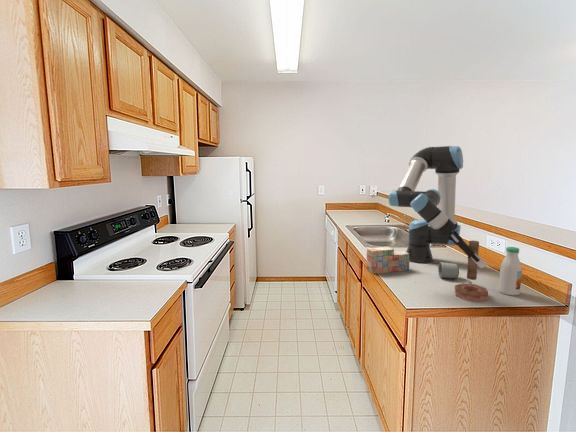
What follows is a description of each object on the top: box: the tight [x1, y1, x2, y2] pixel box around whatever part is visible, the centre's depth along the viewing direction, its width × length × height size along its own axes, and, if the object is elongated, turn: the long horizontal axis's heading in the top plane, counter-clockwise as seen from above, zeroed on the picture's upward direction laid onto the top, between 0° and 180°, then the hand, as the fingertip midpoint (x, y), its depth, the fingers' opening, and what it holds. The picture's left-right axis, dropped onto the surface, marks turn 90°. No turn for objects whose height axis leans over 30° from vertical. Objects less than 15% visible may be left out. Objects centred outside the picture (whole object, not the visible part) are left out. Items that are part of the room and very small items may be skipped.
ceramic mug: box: [438, 261, 460, 280], centre depth 169 cm, size 11×8×8 cm
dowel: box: [466, 240, 480, 281], centre depth 143 cm, size 4×4×16 cm
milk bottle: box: [498, 246, 523, 296], centre depth 147 cm, size 8×8×20 cm
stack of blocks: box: [366, 246, 411, 275], centre depth 181 cm, size 21×6×12 cm, turn 100°
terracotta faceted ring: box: [454, 283, 489, 302], centre depth 146 cm, size 12×12×3 cm
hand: (482, 265), depth 142 cm, fingers closed on dowel, 3 cm apart
